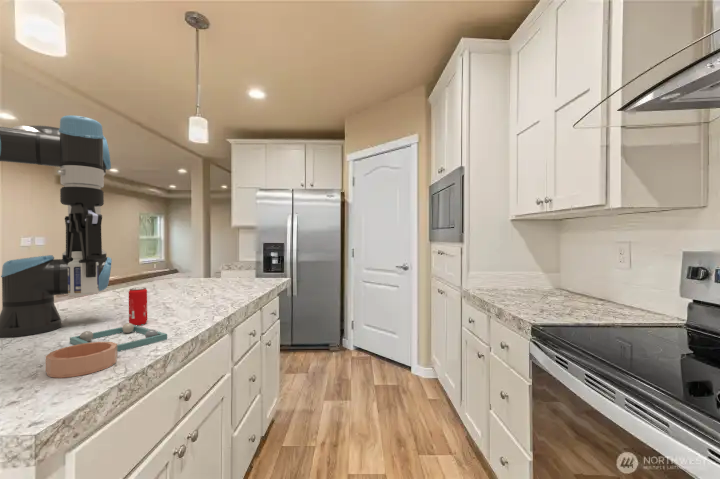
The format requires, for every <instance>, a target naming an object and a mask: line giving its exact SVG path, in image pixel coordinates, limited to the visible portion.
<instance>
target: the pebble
mask: <svg viewBox="0 0 720 479" xmlns="http://www.w3.org/2000/svg"><path fill="white" fill-rule="evenodd" d="M121 327H122V330H123V333H125V334H130V333H132V332H134V331H133V330H134V325H133V324H131V323H129V322H127V323H125V324H123V325H122V326H121Z"/></svg>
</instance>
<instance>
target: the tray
mask: <svg viewBox="0 0 720 479" xmlns="http://www.w3.org/2000/svg"><path fill="white" fill-rule="evenodd" d="M122 327H123V326H120V327H116V328H111V329H106V330H101V331H95V332H92V333H93V338H95V339H99V338H104V337H109V336H113V335H117V334H116V333H118V334H121V333H120V332H123V330H122ZM151 329H152V328H146V327H143V326H141V325H139V326H136V325H134V330H133V331H132V332H135V331H136V332H135V333H138V332H139V333H138V334H141V333H142V335H145V334H146V332H147V331H149V330H151ZM156 331H157V330H156ZM123 333H124V332H123ZM157 333H158V335H157V336H153V337H149V338H146V337H144V338H141V339H136V340H133V341H129V342H124V343H121V344H117V351H119V352H122V351H121V350H123V351H126V349H127V350H129V349H130V348H131V349H134V347H135V348H138V346H139V347H143V346H145V345H150V344H154V343H158V342H163V341H165V340H168V333H165V332H161V331H159V330H158V331H157ZM112 334H113V335H112ZM108 335H109V336H108ZM103 336H104V337H103ZM98 337H99V338H98ZM93 338H92V340H94V339H93ZM83 343H90V341H89V342H87V341H84V340H82V339H80V335H75V336H70V337H69V344H72V345H78V344H83Z"/></svg>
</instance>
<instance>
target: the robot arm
mask: <svg viewBox="0 0 720 479" xmlns="http://www.w3.org/2000/svg"><path fill="white" fill-rule="evenodd" d="M103 131H104V130H103V125H102V124H101V122H99V121H97V120H96V119H93V118H91V117H86V116H81V115H70V114H69V115H64V116H62V117H60V120H59V127H55V126H49V125H15V126H13V127H5V126H0V162H2V163H3V162H4V163H5V162H7V163H15V164H16V163H17V164H18V163H19V164H27V165H28V164H29V165H38V166H46V167H58V168H60V169H58V170H57V172H56V173H57V174H58V175H60V185H62V186H61V188H60V189H59V191H60V194H59V197H60V199H59V201H60V204H62V205H64V206H67V215H66V216H65V217H64V223H65V251H64V252H63V253H62V255H61V256H62V257H61V258H59V259H58V258H55V257H54V255H52V254H47V255H40V256H39V255H38V256H31V257H23V258H16V259H10V260H7V261H5V262H4V263H3V264H2V269H1V275H0V278H1V288H2V289H1V290H2V291H1V292H2V293H1V295H2V296H1V299H2V300H1V301H2V302H1V303H2V305H1V306H2V307H1V308H2V309H1V311H0V338H14V337H21V336H22V337H23V336H24V337H25V336H30V335H38V334H42V333H47V332H51V331H54V330H57V329H60V328H62V318H61V316H60V315H61V314H59V311H58V310H57V309H58V308H57V307H56V305H55V296H59V295H60V296H61V295H68V263H69V262H71V261H73V258H72V257H71V256H72V252H75V251H82V258H83V259H82V260H79V263H81V293H89V292H97V262H98V264H99V292H102V291H104V290H106V289H107V288H108V286H109V283H110V276H111V271H112V257H109V256H107V251H105V250H104V249H103V244H102V239H103V238H102V221H103V215H102V213H101V212H102V211H101V210H102V209H101V208H102V207H103V205H104V204H105V200H104V199H105V198H104V195H105V194H104V191H103V190H102V188H104V187H105V180H104V179H105V175H106V174H107V171H108V170H110V169H111V168H112V165H111V164H112V163H111V155H110V149H109V145H108V140H107V138H106V137H105V135H104V132H103Z"/></svg>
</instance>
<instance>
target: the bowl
mask: <svg viewBox="0 0 720 479" xmlns="http://www.w3.org/2000/svg"><path fill="white" fill-rule="evenodd" d="M117 345H118V343H117V342H114V341H93V342H89V343H83V344H78V345H74V344H72V345H70V346H69V345H68V346H65V347H61V348H59V349H56V350H53V351H50V352H49V353H48V354H47V355H45V372H46V376H48V377H49V378H54V379H65V378H73V377H80V376H81V377H82V376H85V375H91V374H94V373H97V371H98V372H101V371H104V370H106V369H108V368H110V366H111V367H112V366H114V365H115V364H117V359H118V352H117ZM113 364H114V365H113ZM103 369H104V370H103ZM100 370H101V371H100Z"/></svg>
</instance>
